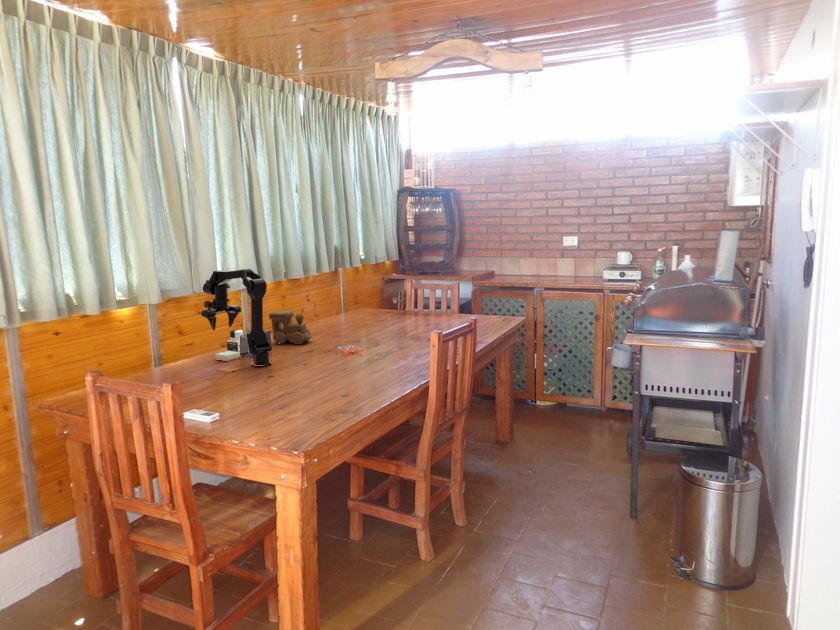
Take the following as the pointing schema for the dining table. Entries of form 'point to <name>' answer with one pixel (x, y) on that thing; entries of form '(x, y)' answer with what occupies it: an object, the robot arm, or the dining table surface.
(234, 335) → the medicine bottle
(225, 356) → the base block
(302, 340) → the wooden toy train
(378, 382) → the dining table surface
